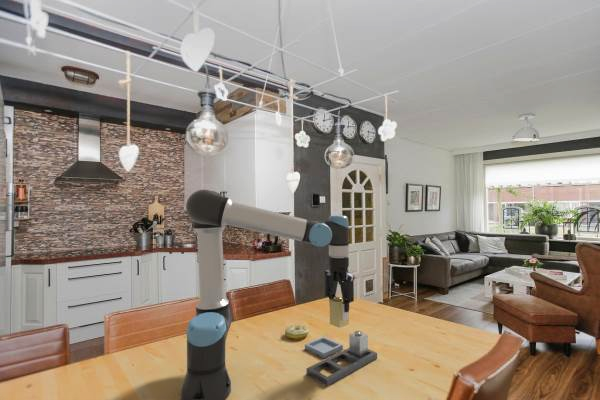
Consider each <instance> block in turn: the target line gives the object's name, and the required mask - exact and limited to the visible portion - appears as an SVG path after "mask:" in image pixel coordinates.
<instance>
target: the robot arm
mask: <svg viewBox="0 0 600 400" xmlns="http://www.w3.org/2000/svg"><path fill="white" fill-rule="evenodd" d="M185 209H186V210H185V211H186V214H187V215H188V217H189V218H190V219H191V220H192V230H193V231H194V232H196V235H197V253H198V254H197V255H198V257H197V258H198V276H199V277H198V279H199V281H198V282H199V283H198V284H199V300H198V302H197V303H196V304H195V316H194V317H192V318H191V319H189V321H188V324H187V329H186V373H185V376H184V379H183V383H182V386H181V388H180V399H181V400H226V399H227V398H228V397H229V396H230V394H231V391H232V382H231V379H230V378H231V377H230V375H229V372H228V370H227V366H226V341H227V337H228V333H229V330H230V328H231V325H232V313H231V311H230V301H229V299H228V298H226V297H225V295H226V294H225V277H224V276H225V274H224V250H223V249H224V248H223V247H224V246H223V231H224V230H225V229H226V228H227V226H231V227H236V228H239V229H240V228H241V229H245V230H250V231H253V232H258V233H262V234H267V235H271V236H275V237H280V238H284V239H289V240H294V241H298V242H302V243H306V244H310V245H313V246H315V247H318V248H319V247H320V248H321V247H325V246H327V245H328V256H329V257H328V266H329V267H330V268H329V269H328V270H327V269H326V270H324V271H323V273H324V279H325V280H324V283H325V284H324V291H325V292H324V295H325V297H327V298H328V300H329V305H328V306H330V300H331V299H335V298H336V297H337V296H336V294H337V288H338V285H339V287H340V292H341V296H342V298H343V302H342V321H346V320H348V312H349V313H350V303H354V301H355V295H354V291H355V288H354V286H355V285H354V284H355V283H354V281H355V275H354V274H350V271H349V269H348V268H349V265H350V260H349V259H350V258H349V256H350V254H349V250H350V249H349V247H350V246H349V244H350V243H349V241H350V240H349V239H350V238H349V232H350V230H349V229H350V226H349V225H350V224H349V218H348V216H346V215H329V216H328V219H327V220H324V221H323V220H310V219H305V218H303V217H297V216H293V215H290V214H284V213H281V212H276V211H272V210H268V209H263V208H259V207H256V206H251V205H247V204H244V203H243V204H242V203H237V202H234V201H232V199H231V198H230V197H226V196H222V195H221V193H219V192H217V191H214V190H209V189H198V190H196V191H194V192H193V193H191V194H190V196H189V197H188V198H187V201H186V203H185Z"/></svg>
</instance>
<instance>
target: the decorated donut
mask: <svg viewBox="0 0 600 400" xmlns="http://www.w3.org/2000/svg"><path fill="white" fill-rule="evenodd" d="M284 333H285V335H286V337H287V338H288V339H290V340H295V341H297V340H298V341H299V340H302V339H303V340H304V339H305V338H306V337H307V336H308V334H309V333H310V332H309V328H307V327H306V326H305V325H301V324H293V325H290V326H287V327H286V328H285V329H284Z"/></svg>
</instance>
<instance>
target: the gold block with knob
mask: <svg viewBox="0 0 600 400" xmlns="http://www.w3.org/2000/svg"><path fill="white" fill-rule="evenodd" d="M342 302H343V298H342V297H341V296H336V297H335V299H331V300H330V305H329V324H330V325H332V326H334V327H336V328H339V329H341V328H343V327H346V326H349V324H350V320H349V318H350V317H349V313H350V311H349V312H348V320H346V321H342Z"/></svg>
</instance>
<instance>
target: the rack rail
mask: <svg viewBox="0 0 600 400" xmlns="http://www.w3.org/2000/svg"><path fill="white" fill-rule="evenodd" d="M377 358H378V353H377V352H376V351H374V350H372V349H369V348H368V355H367V356H365V357H363V358H361V359H360V358H357V357H355V356H353V355H351V354H350V347H347V348H346V349H343V350H341V351H339V352H337V353H335V354H333V355H331V356H329V357H327V358H325V359H323V360H320V361H318V362H317V363H314V364H312V365H310V366H308V367H307V368H306V375H307V376H308V377H310V378H312V379H314V380H316V381H317V382H319V383H320V384H322V385H324V386H326V387H329V386H331V385H332V384H333V385H334V384H335V383H336V382H337V381H338V382H339V380H341V379H344V378H345V377H347V376H348V375H350V374H352V373H354V372H355V371H357V370H359V369H361V368H363V367H364V366H367V365H368V364H370V363H371V362H373V361H375V360H377ZM342 360H343V361H346V362H348V363H349V364H348V365H346V366H343V365H341V364H339V363H338V362H340V361H342ZM326 368H327V369H329V370H331V371H332V372H333V373H331V374H329V375H325V374H323V373H321V372H320V371H322V370H324V369H326Z"/></svg>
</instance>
